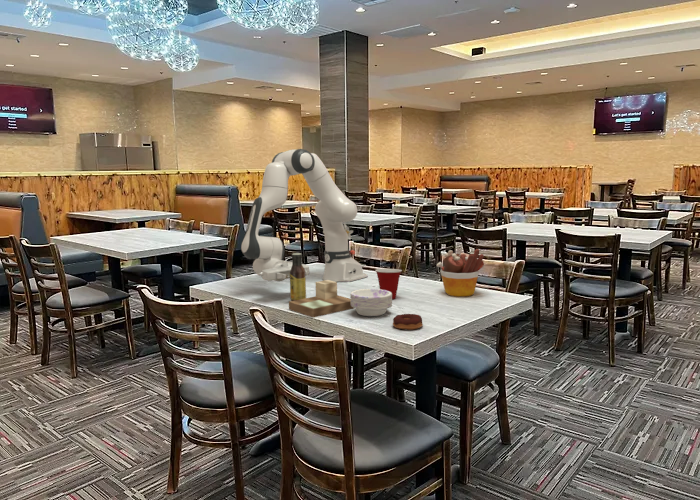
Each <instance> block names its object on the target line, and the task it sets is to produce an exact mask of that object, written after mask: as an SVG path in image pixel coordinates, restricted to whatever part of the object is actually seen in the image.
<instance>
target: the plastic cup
mask: <svg viewBox="0 0 700 500" xmlns="http://www.w3.org/2000/svg"><path fill="white" fill-rule="evenodd" d="M374 271H375V273H376V275H377V281H378V285H379V286H378V287H379V289H381V290H387V291H390V292H391V293H392V300H395V299H396V297H397V292H398V288H399V282H400V277H401V274H402V271H403V270H402V269H399V268H398V269H397V268H377V269H375V270H374Z"/></svg>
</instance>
